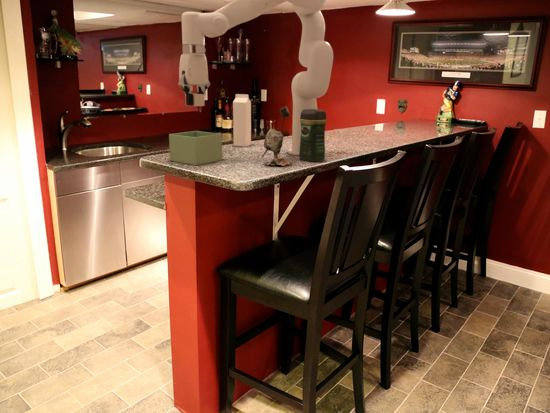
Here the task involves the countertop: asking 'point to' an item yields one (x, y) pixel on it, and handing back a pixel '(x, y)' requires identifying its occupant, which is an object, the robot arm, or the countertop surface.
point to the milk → (242, 120)
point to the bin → (195, 147)
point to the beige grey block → (198, 99)
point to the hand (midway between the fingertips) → (195, 104)
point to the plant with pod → (276, 141)
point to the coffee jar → (312, 135)
